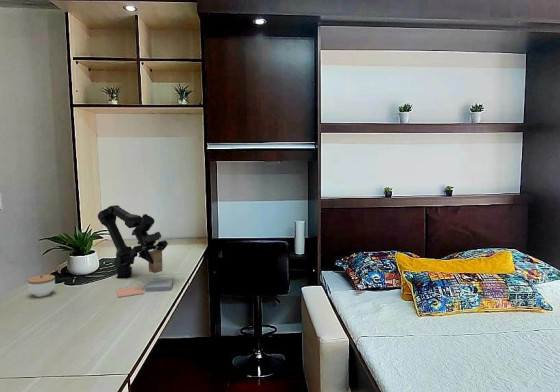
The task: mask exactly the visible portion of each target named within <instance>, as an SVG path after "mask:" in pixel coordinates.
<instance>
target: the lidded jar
mask: <svg viewBox="0 0 560 392" xmlns="http://www.w3.org/2000/svg"><path fill="white" fill-rule="evenodd" d="M55 284H56V276H55V275H53V274H39V275H35V276H33V277H30V278H28V279H27V285H28V289H29V292H30V293H31V294H32V295H34V297H36V298H37V297H39V298H40V297H41V298H42V297H46V296H50V295H51V293H52V292H53V290H54V289H55Z"/></svg>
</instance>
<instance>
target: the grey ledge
mask: <svg viewBox="0 0 560 392" xmlns="http://www.w3.org/2000/svg"><path fill="white" fill-rule="evenodd" d="M173 280H174V279H173V278H171V279H169V278H168V279H152V280H151V279H149V282H148V283H147V285H146V287H145V288H146V289H145V292H147V291H149V292H163V291H164V292H169V291H171V289H172V287H173V284H174V281H173Z"/></svg>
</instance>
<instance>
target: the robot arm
mask: <svg viewBox="0 0 560 392" xmlns="http://www.w3.org/2000/svg"><path fill="white" fill-rule="evenodd" d="M97 218H98V221H99V222H100V224H101V225H103V226H105V228H106V230H107V232H108V233H109V236H110V237H111V240H112V242H113V245H114V247H115V250H116V253H115V260H114V261H113V266H114V267H115V268H116V269H117V274H116V275H117V276H116V279H128V278H131V276H132V275H133V266H132V265H133V264H134V263H135V259H136V258H137V257H138V258H141V259H143V260H144V261H147V262H148V263H149V262H150V263H151V264H153V263H154V262H153V260H152V258H151V256H150V254H149V251H152V250H160V251H162V252H163V251H164V250H165V249H166V248H167V247H168V246H169V243H168V241H167V240H166V239H165V240H160V239H161V238H162V234H161V232H160V231H156V232H154V233H151V234H149V231H150V229H151V228H152V227H153V225H154V224H155V219H154V218H153V217H152V216H151V215H148V214H147V213H145V214H144V213H143V215H142V216H141V215H138V214H134V213H130V212H128V211H127V210H125V209H124V208H122V207H120V205H117V204H116V205H115V204H114V205H110V206H108V207H107V208H105V209H103V210H100V211H99V212H98V214H97ZM117 218H118V219H120V220H121V221H123V222H124V225H125V226H126V227H127V228H128V229H132V232H131V236H135V238H136V239H137V245H134V246H133V247H132V246H130V245H129V246H127V244H126V243H125V240H124V238H123V236H122V234H121V232H120V229H119V228H118V225H117V223H116V222H117ZM158 240H159V241H158ZM157 241H158V242H157ZM156 243H157V244H156Z"/></svg>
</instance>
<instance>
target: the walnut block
mask: <svg viewBox="0 0 560 392" xmlns="http://www.w3.org/2000/svg"><path fill="white" fill-rule="evenodd" d="M149 254H150V256H151V258H152V260H153V262H154V263H153V264H151V263H150V262H148V272H151V273H153V274H158V273H160V272H163V251H160V250H149Z"/></svg>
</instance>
